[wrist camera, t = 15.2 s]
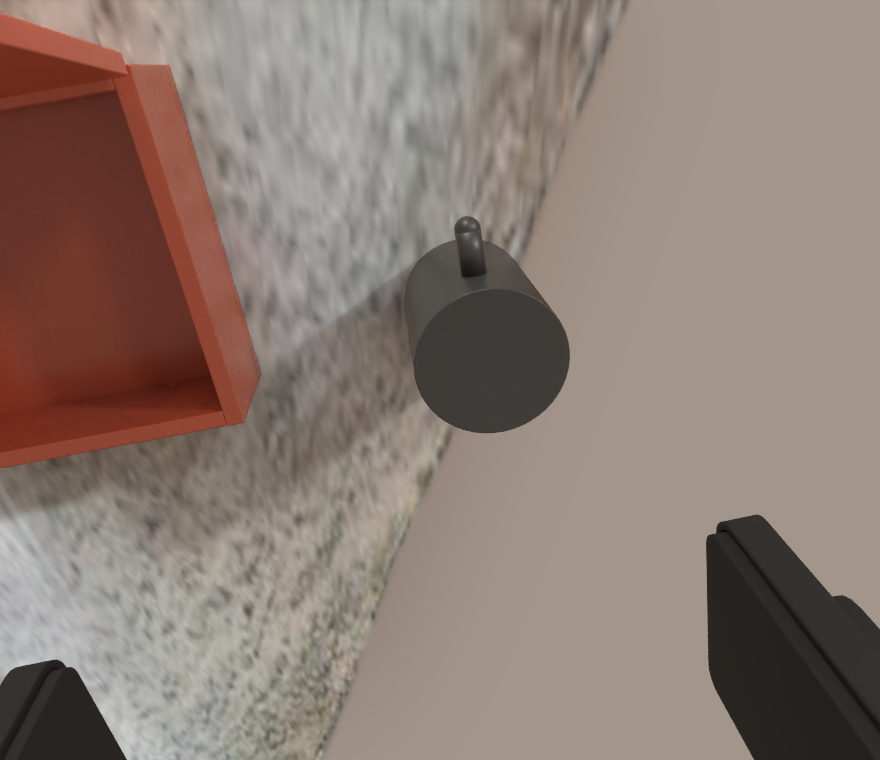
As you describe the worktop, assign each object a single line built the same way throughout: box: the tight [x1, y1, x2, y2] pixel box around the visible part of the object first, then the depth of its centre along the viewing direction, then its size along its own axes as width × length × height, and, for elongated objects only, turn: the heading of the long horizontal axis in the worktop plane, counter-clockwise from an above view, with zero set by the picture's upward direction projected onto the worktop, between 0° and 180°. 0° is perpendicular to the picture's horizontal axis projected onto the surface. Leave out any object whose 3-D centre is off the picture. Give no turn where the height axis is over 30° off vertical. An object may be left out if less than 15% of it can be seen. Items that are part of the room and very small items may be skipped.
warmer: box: [0, 64, 261, 468], centre depth 32 cm, size 16×16×6 cm
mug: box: [405, 216, 570, 433], centre depth 33 cm, size 9×7×9 cm
